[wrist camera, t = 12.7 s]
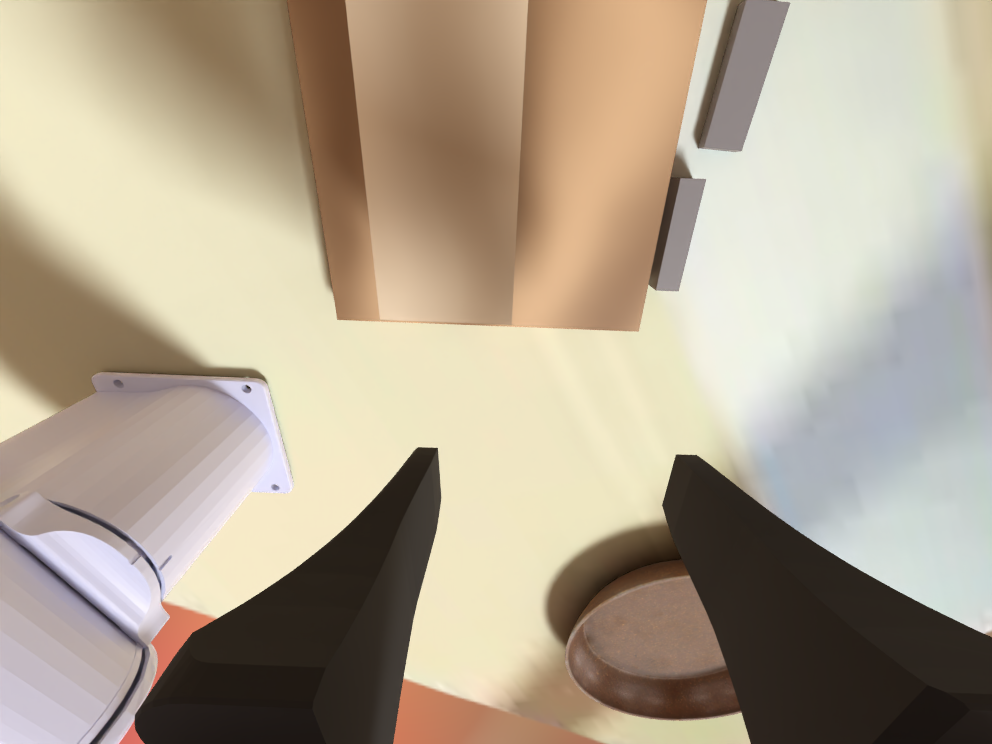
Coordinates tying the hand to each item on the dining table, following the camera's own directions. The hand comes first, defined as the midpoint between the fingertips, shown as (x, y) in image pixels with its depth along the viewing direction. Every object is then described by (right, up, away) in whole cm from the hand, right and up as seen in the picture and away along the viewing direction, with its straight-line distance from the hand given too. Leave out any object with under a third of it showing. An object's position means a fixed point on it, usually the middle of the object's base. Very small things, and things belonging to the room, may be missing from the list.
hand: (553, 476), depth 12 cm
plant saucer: (+12, -16, +19) cm, 27 cm away
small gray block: (+5, +9, +5) cm, 12 cm away
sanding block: (-3, +12, +3) cm, 13 cm away
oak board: (-2, +12, +4) cm, 13 cm away
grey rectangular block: (+7, +14, +3) cm, 16 cm away
